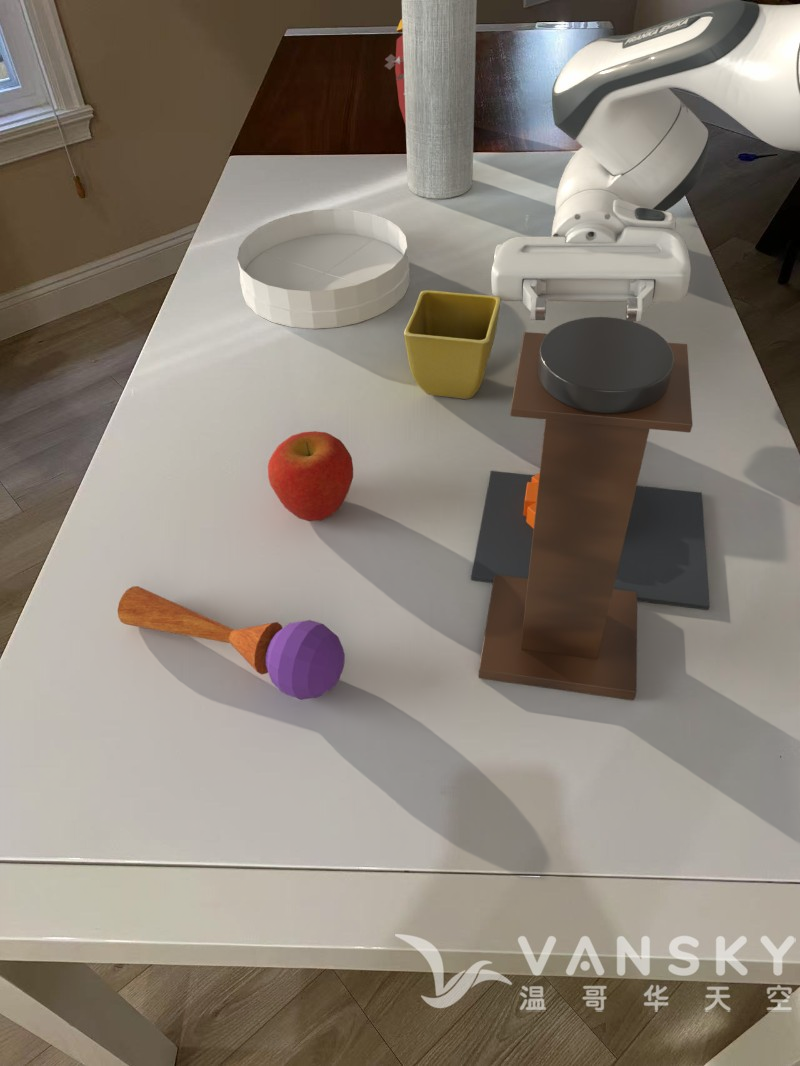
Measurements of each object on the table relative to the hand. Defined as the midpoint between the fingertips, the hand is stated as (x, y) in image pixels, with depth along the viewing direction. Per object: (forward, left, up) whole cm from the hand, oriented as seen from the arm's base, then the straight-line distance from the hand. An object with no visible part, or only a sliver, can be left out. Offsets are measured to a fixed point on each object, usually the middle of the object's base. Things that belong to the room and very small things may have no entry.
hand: (585, 315), depth 83 cm
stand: (-1, +33, -10) cm, 34 cm away
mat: (-3, +21, -10) cm, 23 cm away
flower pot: (+13, 0, -10) cm, 17 cm away
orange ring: (-1, +14, -10) cm, 17 cm away
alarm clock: (+31, -74, -10) cm, 81 cm away
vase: (+23, -51, -10) cm, 57 cm away
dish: (+33, -20, -10) cm, 40 cm away
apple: (+23, +21, -10) cm, 33 cm away
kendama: (+25, +39, -10) cm, 47 cm away
